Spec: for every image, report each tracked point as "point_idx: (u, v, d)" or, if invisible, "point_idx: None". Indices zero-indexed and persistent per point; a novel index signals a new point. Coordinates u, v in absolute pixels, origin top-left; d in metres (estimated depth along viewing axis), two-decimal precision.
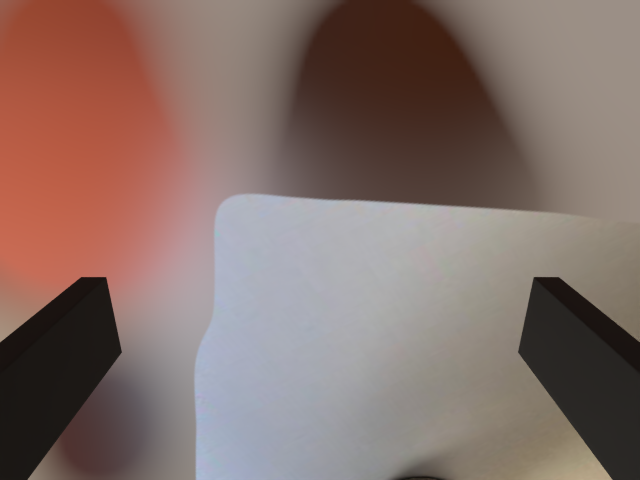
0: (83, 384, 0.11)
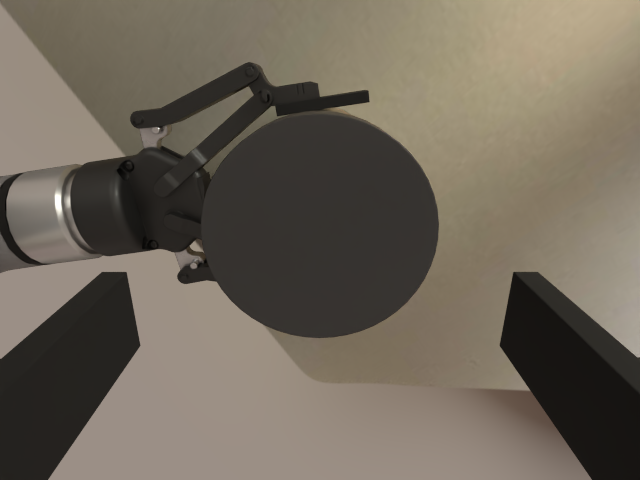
0: (106, 375, 0.11)
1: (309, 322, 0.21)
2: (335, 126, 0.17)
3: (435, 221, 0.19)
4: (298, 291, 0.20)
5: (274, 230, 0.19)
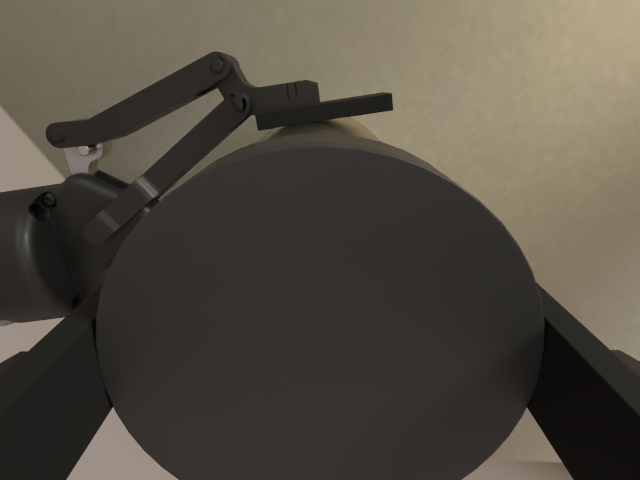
0: None
1: None
2: (352, 170, 0.08)
3: (539, 343, 0.10)
4: (281, 454, 0.11)
5: (235, 358, 0.10)
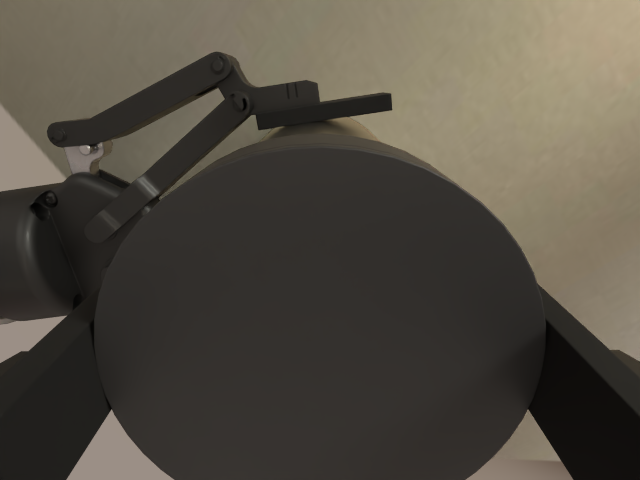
0: None
1: (470, 440, 0.11)
2: (125, 280, 0.09)
3: (383, 161, 0.08)
4: (402, 435, 0.11)
5: (276, 428, 0.11)
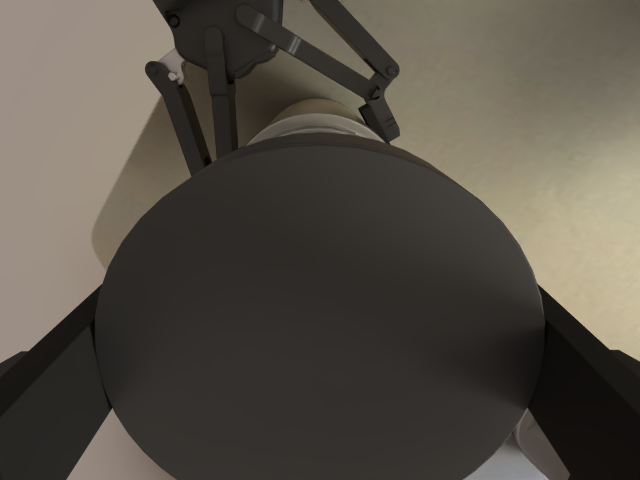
0: None
1: (470, 439, 0.11)
2: (126, 278, 0.09)
3: (383, 160, 0.08)
4: (402, 433, 0.11)
5: (276, 426, 0.11)
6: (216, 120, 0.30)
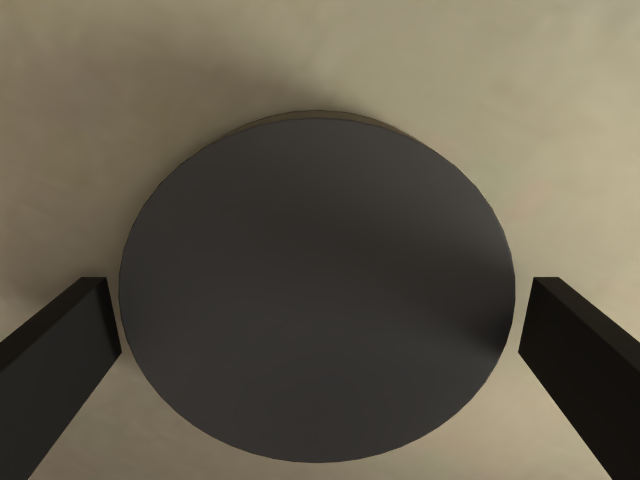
0: (83, 384, 0.11)
1: (450, 384, 0.12)
2: (147, 237, 0.11)
3: (371, 131, 0.10)
4: (390, 379, 0.12)
5: (279, 373, 0.12)
6: None
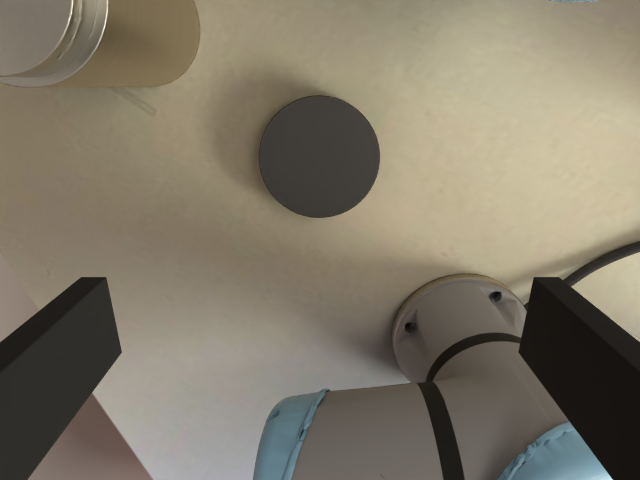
0: (83, 384, 0.11)
1: (362, 184, 0.38)
2: (270, 131, 0.37)
3: (334, 99, 0.36)
4: (343, 182, 0.38)
5: (307, 179, 0.38)
6: None
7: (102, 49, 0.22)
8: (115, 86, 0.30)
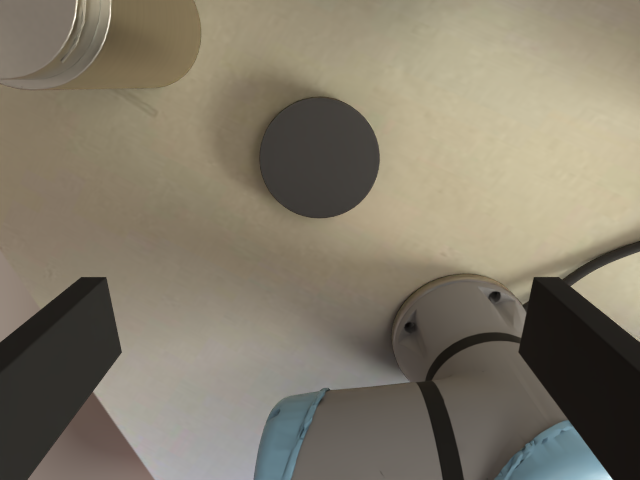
0: (83, 384, 0.11)
1: (362, 185, 0.39)
2: (270, 132, 0.37)
3: (334, 101, 0.36)
4: (343, 182, 0.39)
5: (307, 180, 0.39)
6: None
7: (105, 52, 0.22)
8: None
